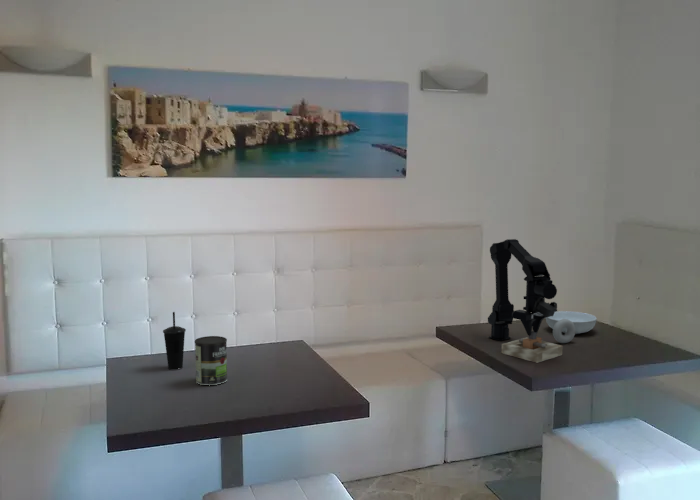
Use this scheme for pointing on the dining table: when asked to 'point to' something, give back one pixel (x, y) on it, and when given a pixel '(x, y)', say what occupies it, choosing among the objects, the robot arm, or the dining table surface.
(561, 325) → the donut
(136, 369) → the dining table surface
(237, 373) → the dining table surface
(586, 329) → the serving bowl
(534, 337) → the brown u-shaped block
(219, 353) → the coffee can
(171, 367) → the drinking cup
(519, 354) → the grey square tray
